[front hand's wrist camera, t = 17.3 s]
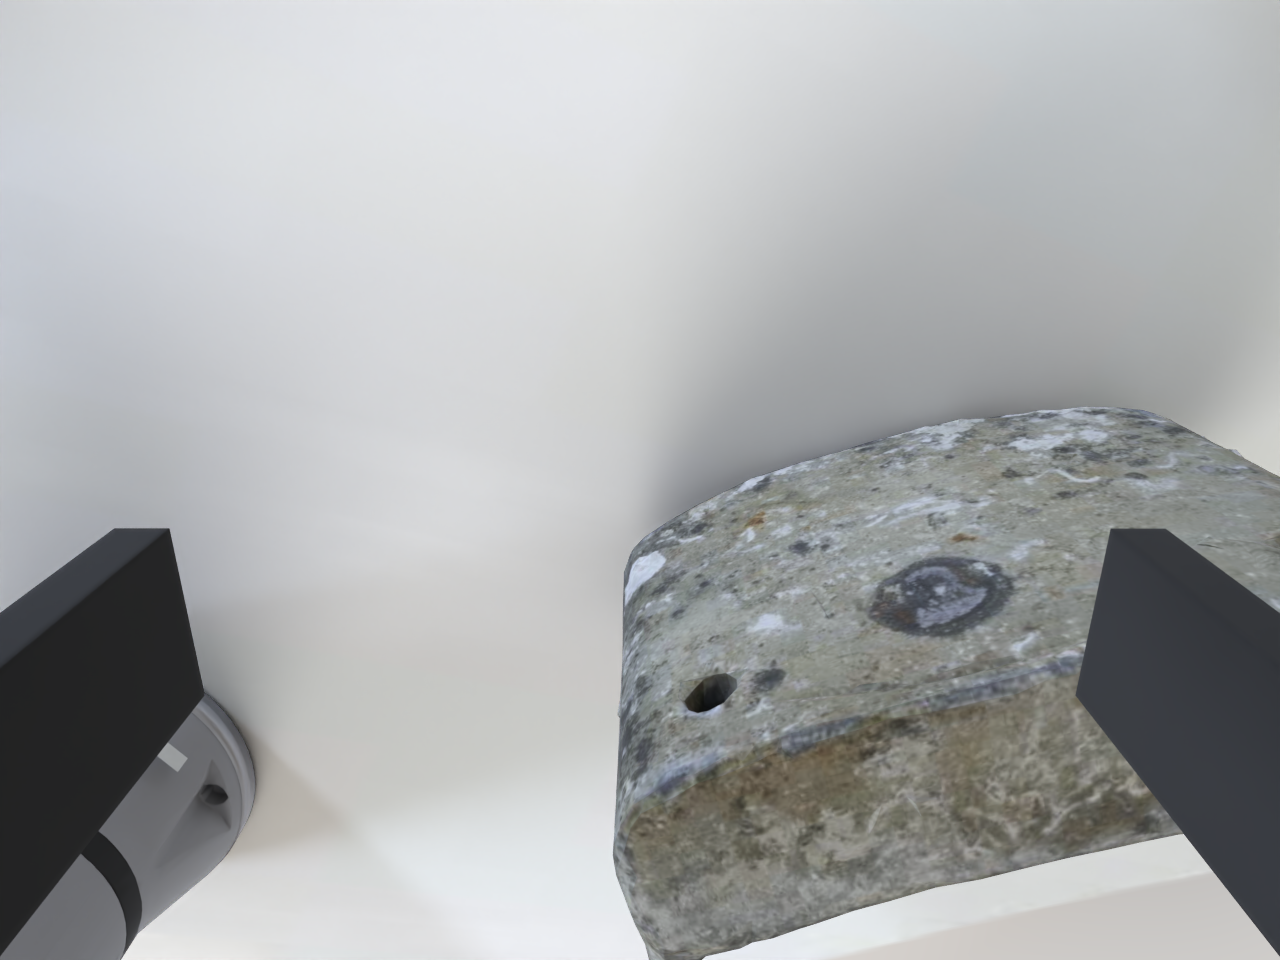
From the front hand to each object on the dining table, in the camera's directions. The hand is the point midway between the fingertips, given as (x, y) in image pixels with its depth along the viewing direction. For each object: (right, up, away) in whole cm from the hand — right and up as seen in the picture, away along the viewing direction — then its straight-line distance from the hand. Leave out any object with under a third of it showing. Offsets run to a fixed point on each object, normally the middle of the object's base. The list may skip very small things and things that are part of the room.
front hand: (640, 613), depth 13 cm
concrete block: (+12, 0, +31) cm, 33 cm away
